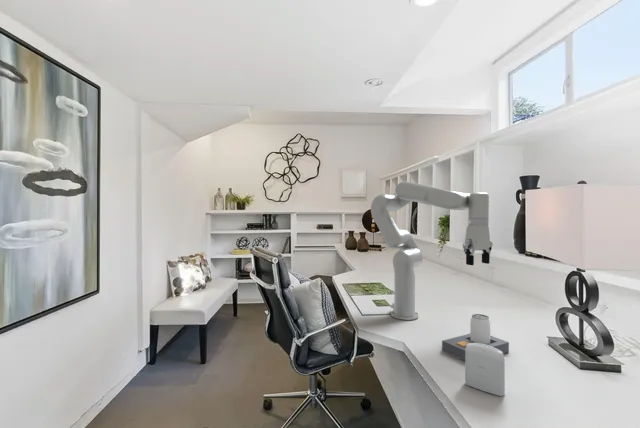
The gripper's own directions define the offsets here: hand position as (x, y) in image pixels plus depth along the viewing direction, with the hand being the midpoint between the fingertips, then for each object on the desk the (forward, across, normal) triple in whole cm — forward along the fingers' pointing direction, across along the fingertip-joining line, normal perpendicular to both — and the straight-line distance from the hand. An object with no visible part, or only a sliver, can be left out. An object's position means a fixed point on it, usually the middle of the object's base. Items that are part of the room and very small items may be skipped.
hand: (477, 264), depth 138 cm
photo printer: (+28, +37, +30) cm, 56 cm away
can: (+28, +14, +12) cm, 34 cm away
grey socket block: (+28, +17, +12) cm, 35 cm away
